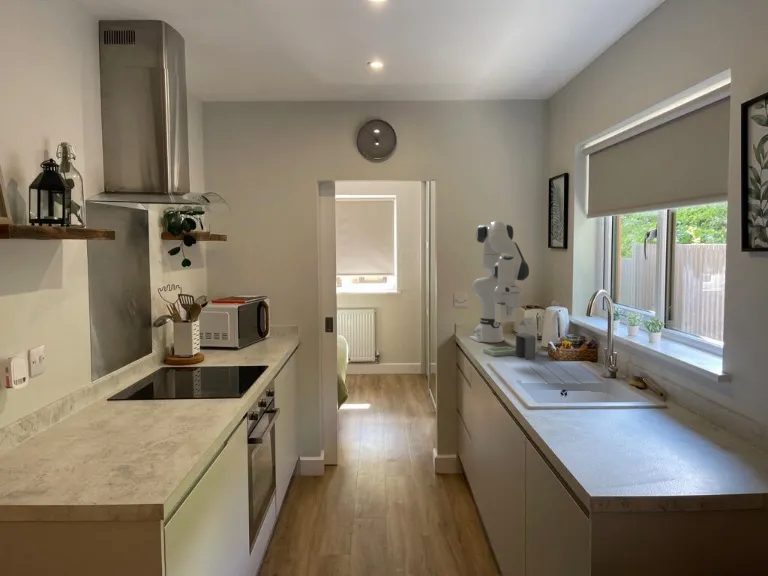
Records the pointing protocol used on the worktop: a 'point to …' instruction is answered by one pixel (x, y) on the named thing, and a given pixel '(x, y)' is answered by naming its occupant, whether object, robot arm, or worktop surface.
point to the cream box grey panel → (504, 313)
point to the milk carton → (529, 328)
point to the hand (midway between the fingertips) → (505, 314)
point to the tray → (500, 351)
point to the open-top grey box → (525, 345)
